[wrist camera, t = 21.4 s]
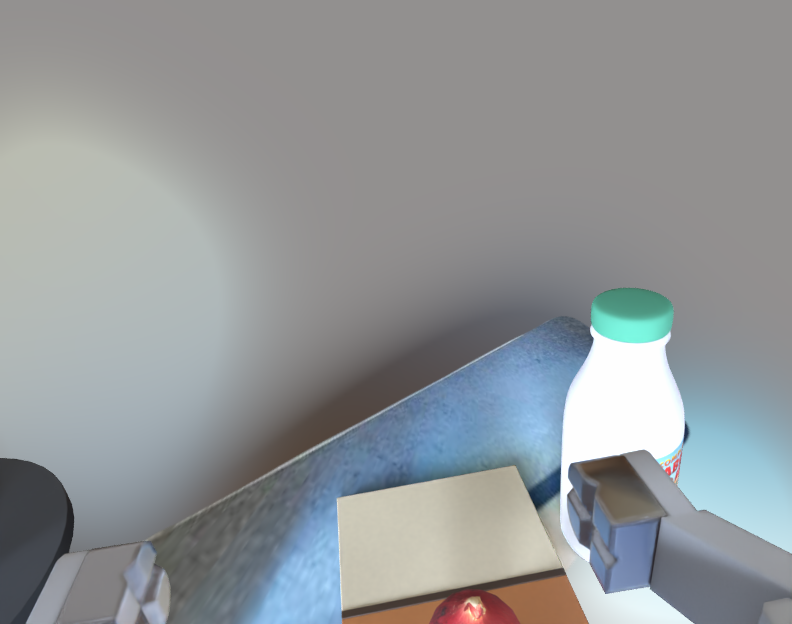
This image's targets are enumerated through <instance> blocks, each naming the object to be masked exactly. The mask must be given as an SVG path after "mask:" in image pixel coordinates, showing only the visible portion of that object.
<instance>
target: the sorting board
mask: <svg viewBox="0 0 792 624" xmlns="http://www.w3.org/2000/svg"><path fill="white" fill-rule="evenodd" d="M337 510H338V534H339V558H340V581H341V605H342V624H429V622H430V620H431V618H432V616H433V614H434V611H435V609H436V607H438V606H439V605H440V604H441V603H442V602H443V601H444V600H445V599H446V598H448V597H449V596H450V595H451V594H452V593H456V592H459V591H462V590H465V589H477V590H483V591H486V592H489V593H491V594H494V595H496V596H497V597H499V598H500V599H501V600H502V601H503V602H504V603H506V604H507V605H508V606H509V607H510V608H511V609H513V611H514V613H515V615H516V617H517V618H518V620H519V622H520V624H589V623H588V621H587V619H586V617H585V614H584V612H583V610H582V608H581V606H580V604H579V601H578V599H577V597H576V595H575V593H574V591H573V588H572V586H571V584H570V582H569V580H568V578H567V575H566V572H565V570H564V568H563V567H562V565H561V563H560V560H559V558H558V556H557V554H556V552H555V550H554V547H553V545H552V543H551V541H550V539H549V537H548V534H547V532H546V530H545V528H544V526H543V524H542V521H541V519H540V517H539V515H538V513H537V511H536V508H535V506H534V504H533V502H532V500H531V498H530V495H529V493H528V491H527V489H526V487H525V485H524V482H523V480H522V478H521V476H520V474H519V472H518V469H517V467H516V465H513V466H507V467H502V468H496V469H491V470H486V471H480V472H475V473H469V474H464V475H459V476H453V477H448V478H442V479H437V480H432V481H426V482H421V483H415V484H410V485H404V486H399V487H394V488H388V489H383V490H377V491H372V492H367V493H361V494H356V495H350V496H345V497H340V498H337Z"/></svg>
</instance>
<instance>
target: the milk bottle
mask: <svg viewBox="0 0 792 624" xmlns="http://www.w3.org/2000/svg"><path fill="white" fill-rule="evenodd" d="M672 322H673V306H672V304H671V302H670V301H669V300H668V299H667V298H666V297H664V296H662V295H661V294H658V293H656V292H653V291H649V290H645V289H638V288H618V289H612V290H609V291H605V292H603V293H601V294H600V295H598V296H597V297H596V298H595V299H594V301H593V304H592V308H591V323H592V325H591V328H590V331H591V334H592V336H593V337H594V341H593V345H592V348H591V350H590V353H589V355H588V357H587V359H586V360H585V362H584V364H583V365H582V367H581V368H580V370H579V371H578V373H577V374H576V376H575V378H574V379H573V381H572V384H571V386H570V388H569V391H568V394H567V398H566V402H565V408H564V418H563V432H562V459H561V495H560V523H561V529H562V532H563V535H564V537H565V539H566V540H567V542H568V544H569V545H570V546H571V548H572V549H573V550H574V551H575V552H576V553H577V554H578V555H579V556H580V557H581V558H582V559H584V560H586V561H587V562H589V560H590V550H589V549H587V548H586V547H584V546H583V545H581V544H580V543H579V542H578V540H577V538H576V536H575V534H574V532H573V529H572V526H571V523H570V520H569V515H568V510H567V494H568V493H569V491H570V490H571V489H572V488H573V487H572V485H571V483H570V481H569V479H568V468H569V466H570V463H574V462H579V461H584V460H589V459H594V458H600V457H605V456H610V455H615V454H618V455H619V454H621V453H626V452H631V451H637V450H642V449H645V450H647V451H649V452H650V453H651V454H652V455H653V457H654V458H655V459H656V460H657V461H658V463H659V464H660V465H661V466H662V468H663V469H664V470H665V471H666V473H667V474H668V475H669V476H670V478H671V479H672V480H673V481H674V483H675V484H676V485H677V484H678V477H679V469H680V463H681V456H682V448H683V438H684V428H685V421H684V408H683V402H682V398H681V395H680V392H679V389H678V387H677V384H676V382H675V380H674V378H673V375H672V373H671V371H670V368H669V365H668V362H667V358H666V353H665V344H666V343H667V342H668V341H669V339H670V337H671V334H670V330H671V327H672Z"/></svg>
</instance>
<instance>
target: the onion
mask: <svg viewBox="0 0 792 624" xmlns="http://www.w3.org/2000/svg"><path fill="white" fill-rule="evenodd" d="M429 624H520V622H519V620H518V618H517V617H516V615H515V613H514V611H513V609H511V608H510V607H509V606H508V605H507V604H506V603H504V602H503V601H502V600H501V599H500V598H499V597H497V596H496V595H494V594H491V593H489V592H486V591H483V590H477V589H465V590H462V591H459V592H456V593H452V594H451V595H450V596H449V597H448V598H446V599H445V600H444V601H443V602H442V603H441V604H440V605H439V606H438V607H436V609H435V611H434V614H433V616H432V618H431V620H430V622H429Z"/></svg>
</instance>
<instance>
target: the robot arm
mask: <svg viewBox="0 0 792 624" xmlns="http://www.w3.org/2000/svg"><path fill="white" fill-rule="evenodd" d="M568 479H569V481H570V483H571V485H572V487H573V488H572V489H571V490H570V491H569V493H568V494H567V510H568V515H569V520H570V523H571V526H572V529H573V532H574V534H575V536H576V538H577V540H578V542H579V543H580V544H581V545H583V546H584V547H586V548H587V549H589V550H590V560H589V563H590V565H591V567H592V569H593V571H594V573H595V575H596V577H597V579H598V581H599V583H600V584H601V586H602V588H603V590H604V592H605V594H608V593H614V592H620V591H626V590H632V589H638V588H644V587H650V589H651V590H652V591H653V592H654V593H656V594H657V595H658V596H660V597H661V598H662V599H663V600H665V601H666V602H667V603H669V604H670V605H671V606H672V607H674V608H675V609H677V610H678V611H679V612H680V613H682V614H683V615H684V616H685V617H687V618H688V619H689V620H690V621H692V622H693V623H694V624H792V554H791V553H789V552H787V551H785V550H783V549H781V548H779V547H777V546H775V545H773V544H771V543H769V542H767V541H765V540H763V539H762V538H760V537H758V536H755V535H754V534H752V533H750V532H748V531H746V530H744V529H742V528H740V527H738V526H736V525H734V524H732V523H730V522H728V521H726V520H724V519H722V518H720V517H718V516H716V515H714V514H712V513H710V512H709V511H707V510H700V511H697V510H696V509H695V507H694V506H693V505H692V504H691V502H690V501H689V500H688V499H687V498H686V496H685V495H684V494H683V493H682V491H681V490H680V489H679V488H678V486H677V485H676V484H675V483H674V481H673V480H672V479H671V478H670V476H669V475H668V474H667V473H666V471H665V470H664V469H663V468H662V466H661V465H660V464H659V463H658V461H657V460H656V459H655V458H654V457H653V455H652V454H651V453H650V452H649V451H647V450H645V449H642V450H637V451H631V452H626V453H621V454H619V455H618V454H615V455H610V456H605V457H600V458H594V459H589V460H584V461H579V462H574V463H570V466H569V468H568ZM156 555H157V552H156V550H155V548H154V546H153V545H152V543H151V541H140V542H134V543H127V544H121V545H114V546H108V547H102V548H95V549H92V550H86V551H79V552H73V553H66V554H64V555H63V556H62V557H61V558H60V559H58V560H57V562H56V564H55V566H54V568H53V570H52V572H51V574H50V576H49V578H48V580H47V582H46V584H45V586H44V588H43V590H42V592H41V594H40V596H39V598H38V600H37V602H36V604H35V606H34V608H33V610H32V612H31V614H30V616H29V618H28V620H27V622H26V624H165V623H166V622H167V618H168V614H169V609H170V596H171V589H170V584H169V579H168V576H167V574H166V571H165V569H164V568H162V567H160V566H158V565H156V564H154V561H155V558H156Z"/></svg>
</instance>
